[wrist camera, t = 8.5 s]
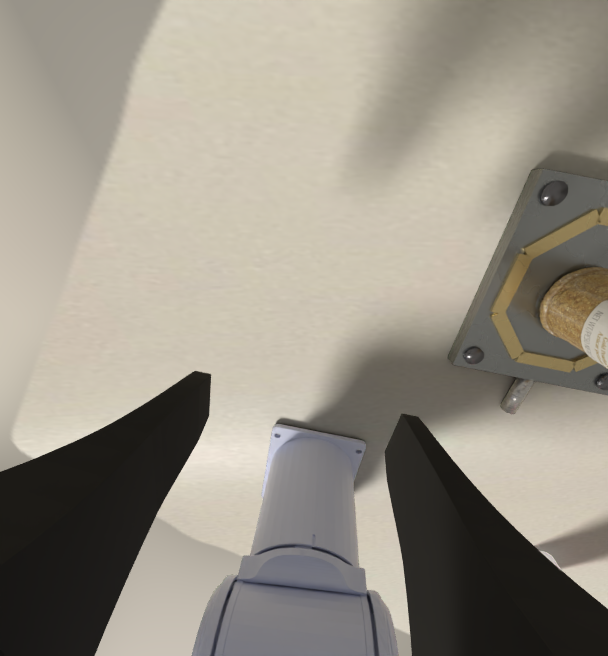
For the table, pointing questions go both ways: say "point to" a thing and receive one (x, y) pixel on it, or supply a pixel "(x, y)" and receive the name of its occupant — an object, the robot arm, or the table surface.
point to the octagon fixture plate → (537, 287)
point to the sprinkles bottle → (580, 311)
